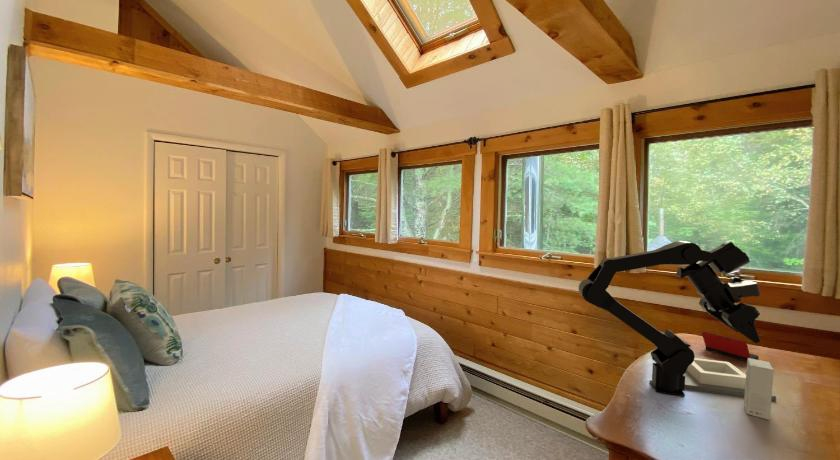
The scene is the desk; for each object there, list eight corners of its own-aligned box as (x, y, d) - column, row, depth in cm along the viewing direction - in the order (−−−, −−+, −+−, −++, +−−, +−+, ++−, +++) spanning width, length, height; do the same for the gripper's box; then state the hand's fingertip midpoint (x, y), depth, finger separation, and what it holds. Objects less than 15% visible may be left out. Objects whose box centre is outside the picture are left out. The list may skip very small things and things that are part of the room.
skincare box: (770, 420, 84) (774, 370, 84) (745, 414, 87) (749, 365, 86) (766, 409, 89) (770, 361, 89) (743, 403, 92) (746, 357, 91)
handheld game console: (759, 359, 122) (761, 337, 121) (745, 365, 116) (746, 342, 116) (715, 346, 133) (716, 326, 132) (699, 351, 127) (701, 330, 127)
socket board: (684, 388, 99) (685, 373, 99) (664, 365, 114) (664, 352, 114) (775, 401, 93) (777, 385, 93) (741, 374, 109) (742, 360, 109)
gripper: (760, 272, 84) (807, 332, 81) (723, 263, 101) (761, 312, 99) (710, 296, 87) (754, 355, 84) (683, 283, 105) (719, 331, 102)
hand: (748, 336), depth 92 cm, fingers open, 9 cm apart
